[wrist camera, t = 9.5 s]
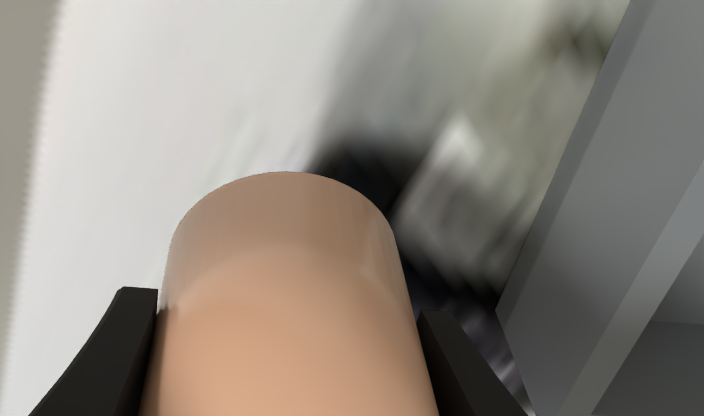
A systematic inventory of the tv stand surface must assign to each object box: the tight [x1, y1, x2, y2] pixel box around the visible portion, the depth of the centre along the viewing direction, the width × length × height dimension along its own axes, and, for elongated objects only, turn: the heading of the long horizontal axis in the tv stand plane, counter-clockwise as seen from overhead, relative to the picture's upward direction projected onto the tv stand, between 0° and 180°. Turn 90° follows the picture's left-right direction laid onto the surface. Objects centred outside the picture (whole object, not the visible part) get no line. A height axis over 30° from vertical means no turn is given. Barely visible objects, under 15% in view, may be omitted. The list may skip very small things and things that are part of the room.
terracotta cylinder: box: [137, 171, 439, 416], centre depth 12 cm, size 5×5×7 cm
